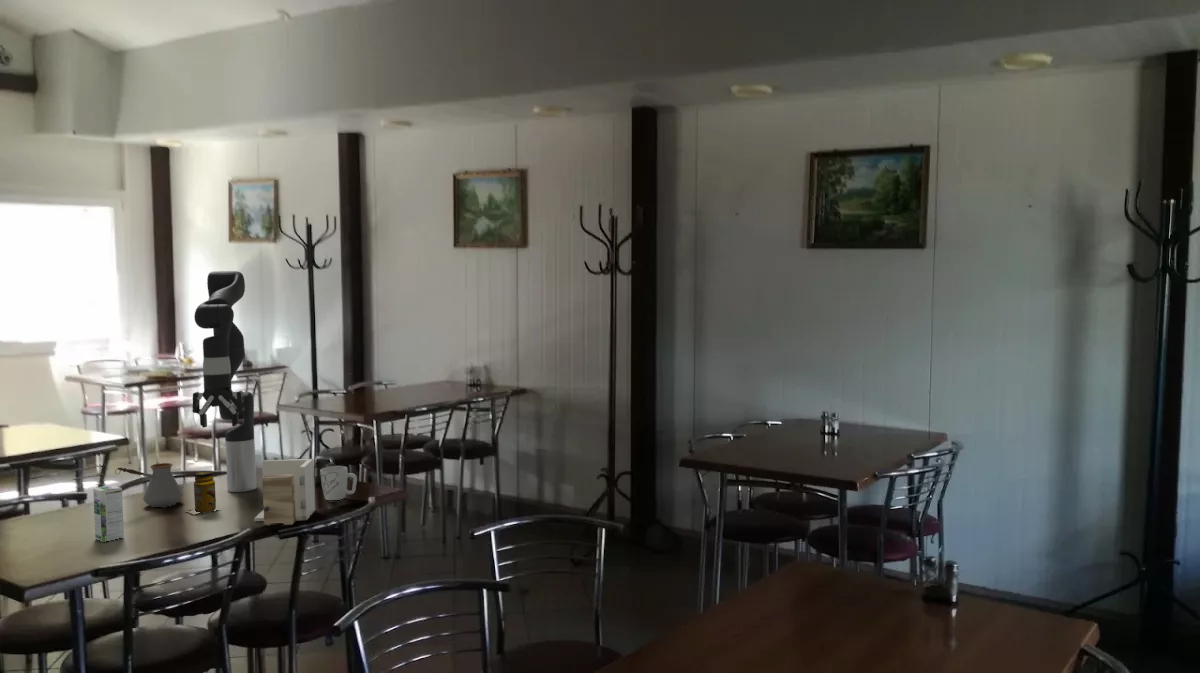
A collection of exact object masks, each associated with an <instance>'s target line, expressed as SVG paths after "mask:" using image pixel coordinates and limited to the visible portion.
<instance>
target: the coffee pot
mask: <svg viewBox="0 0 1200 673" xmlns="http://www.w3.org/2000/svg"><path fill="white" fill-rule="evenodd" d="M172 467H173V463H169V462H165V463H164V462H162V463H155V464H151V465H150V468H151V470H152V473H147V472H146V473H145V472H142V471H138V470H135V469H130V468H128V469H127V468H125V467H124V468H123V467H117V468H116V469H115V470H114V473H115V474H116V475H120V474H121V471H122V472H123V473H125V472H126V473H129V474H132V475H138V476H144V477H147V478H150V480H149V482H148V484H147V486H146V488H145V491H144V495H143V497H142V498H143V501H144V503H145V504H147V505H148V506H149V507H150V506H151V507H150V508H153V507H162V508H168V507H167V506H169V507H173V506H176V505H177V504H178V502H179V501H180V500H181V499H182V497H183V491H182V489H181V488H180V486H179V483H178V482H177V480H176V479H175V476H174V475H173V472H172V471H171V470H172ZM117 470H118V473H117ZM176 503H177V504H176ZM172 505H173V506H172Z"/></svg>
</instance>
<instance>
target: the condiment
mask: <svg viewBox="0 0 1200 673" xmlns="http://www.w3.org/2000/svg"><path fill="white" fill-rule="evenodd" d="M193 492H194V496H193V497H194V508H193V509H195V511H196V512H200V514H199V515H201V513H203V514H205V513H204V512H210V513H212V512H211V511H214V510H215V509H216V508H217V504H216V503H217V500H216V495H217V494H216V482H215V479H214V472H213V471H212V470H211V471H209V470H207V471H206V470H204V471H199V472H195V473H194V482H193ZM193 509H187V510H186V509H185V510H184V512H185V513H187V512H188V511H191V510H193Z"/></svg>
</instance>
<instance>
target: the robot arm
mask: <svg viewBox="0 0 1200 673" xmlns="http://www.w3.org/2000/svg"><path fill="white" fill-rule="evenodd" d="M244 277H245V276H244V274H243V273H242V272H241V271H238V270H237V271H236V270H226V271H225V270H221V271H220V270H217V271H216V270H215V271H210V272H209V273H208V275H207V279H206V280H207V282H206V284H207V285H206V286H207V292H208V299H207V300H205V301H204V302H201V303H200V304H199V305H198V306H197V308H196V309H195V311H194V317H193V318H194V322H195V324H196V325H197V327H199V328H201V329H211V330H213V335H211V336H208V337H205V338H203V340H202V355H203V356H202V357H203V362H202V374H203V392H199V391H196V392H193V393H192V413H193V414H198V415H199V425H200V426H202V428H208V418H207V416H208V415H207V411H208V410H209V409H210V408H211V407H212V408H215V407H218V410H219V416H220V418H221V419H222V420H224V421H231V426H232V427H234V428H232V429H228V430H227V431H226V432H225V434H224V438H225V439H224V440H225V443H224V444H225V461H226V481H227V482H226V483H227V484H226V485H227V491H228V492H229V493H231V492H232V493H244V492H249V491H254V490H256V489H257V471H256V470H257V468H256V467H257V465H256V444H255V425H254V423H255V421H254V420H255V419H254V418H255V416H254V414H255V413H254V412H255V401H254V395H253V394H252V393H251V392H250V391H243V390H239V391H233V390H232V380H233V378H234V377H235V374H236V373H237V371H238V370H239V368H240V366H241V364H242V363H243V361H244V359H245V356H246V352H245V351H246V350H245V338H244V334H243V333H242V331H241V330H240V329H239V327H238V326H237V325H236V323H234V316H235V311H234V310H233V306H234V305H235V304H236V303H238V302H239V301H240V300H241V299H242V298H243V296H244V295H245V291H246V282H245V278H244ZM202 398H203V399H204V400H205V401H206V402H204V404H203V406H202V407H201V408H200V406H201V405H200V404H201V403H200V400H202ZM239 420H243V421H242V423H241V424H240V425H239V426H238V424H239Z"/></svg>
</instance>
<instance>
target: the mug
mask: <svg viewBox="0 0 1200 673" xmlns="http://www.w3.org/2000/svg"><path fill="white" fill-rule="evenodd" d="M319 471H320V472H319V473H320V474H319V475H320V481H321V488H322V492H323V498H324V500H325V499H326V500H339V499H343V498H346V495H353V494H354V493H355V492H356V488H357V483H358V482H357V481H358V477H357V475H356V474H355V473H353V472H349V470H348V467H347V466H344V465H333V466H326V467H322V468H321V469H319ZM349 478H352V485H351V488H352V489H351V490H348V479H349ZM326 500H325V501H326ZM343 500H344V499H343Z"/></svg>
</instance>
